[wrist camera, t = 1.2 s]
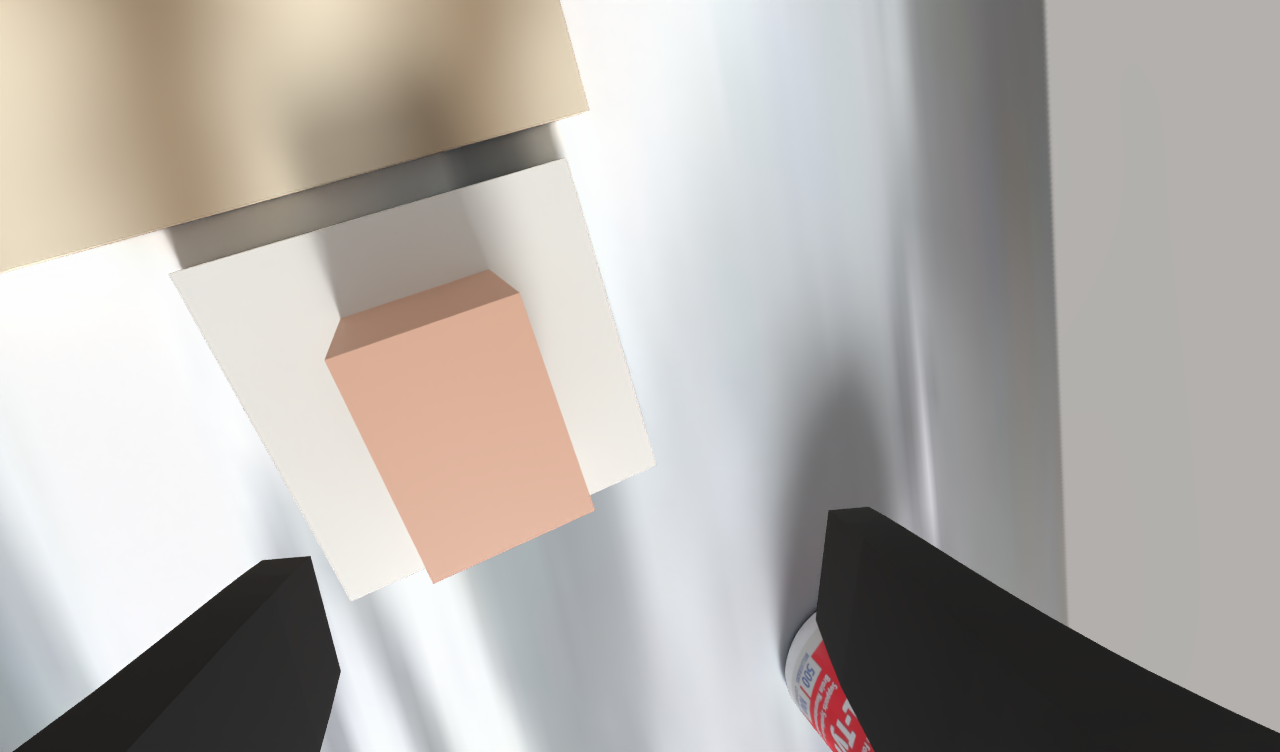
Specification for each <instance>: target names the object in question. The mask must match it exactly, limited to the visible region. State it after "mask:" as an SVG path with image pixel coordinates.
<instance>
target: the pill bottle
mask: <svg viewBox="0 0 1280 752" xmlns="http://www.w3.org/2000/svg"><path fill="white" fill-rule="evenodd" d="M785 678H786V684H787V688H788V691H789V694H790V696H791V698H792V699H793V701H794V702H795V704H796V705H797V707H798V708H799V709H800V711H801V712H802V713H803V715H804V716H805V717H806V718H807V720H808V721H809V722H810V723H811V725H812V726H813V727H814V729H815V730H816V731H817V732H818V734H819V735H820V736H821V737H822V739H823V740H824V741H825V742H826V744H827V745H828V746H829V747H830V749H831V750H832V751H833V752H874V750H873V748H872V746H871V744H870V742H869V740H868V738H867V737H866V735H865V733H864V731H863V729H862V727H861V725H860V723H859V721H858V719H857V717H856V715H855V713H854V711H853V710H852V708H851V706H850V704H849V702H848V700H847V698H846V696H845V694H844V692H843V690H842V688H841V686H840V683H839V681H838V678H837V676H836V673H835V671H834V668H833V666H832V663H831V660H830V658H829V655H828V653H827V650H826V647H825V644H824V642H823V639H822V636H821V633H820V631H819V628H818V625H817V623H816V612H815V613H814V614H813V615H812V616H811V617H810V618H809V619H808V620H807V621H806V622H805V623H804V624H803V626H802V627H801V628H800V629H799V631H798V633H797V634H796V636H795V638H794V640H793V642H792V644H791V647H790V650H789V653H788V657H787V661H786V667H785Z"/></svg>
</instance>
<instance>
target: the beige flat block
mask: <svg viewBox="0 0 1280 752" xmlns="http://www.w3.org/2000/svg"><path fill="white" fill-rule="evenodd" d="M586 111H589V107H588V103H587V99H586V96H585V92H584V88H583V85H582V81H581V77H580V74H579V70H578V66H577V63H576V59H575V55H574V52H573V48H572V44H571V40H570V37H569V33H568V29H567V26H566V22H565V18H564V15H563V11H562V7H561V4H560V0H0V274H1V273H5V272H8V271H12V270H16V269H19V268H23V267H27V266H30V265H34V264H37V263H41V262H45V261H48V260H52V259H56V258H59V257H63V256H67V255H70V254H74V253H77V252H81V251H85V250H88V249H92V248H96V247H99V246H103V245H107V244H110V243H114V242H117V241H121V240H125V239H128V238H132V237H136V236H139V235H143V234H147V233H150V232H154V231H157V230H161V229H165V228H168V227H172V226H176V225H179V224H183V223H186V222H190V221H194V220H197V219H201V218H205V217H208V216H212V215H216V214H219V213H223V212H226V211H230V210H234V209H237V208H241V207H245V206H248V205H252V204H256V203H259V202H263V201H266V200H270V199H274V198H277V197H281V196H285V195H288V194H292V193H296V192H299V191H303V190H306V189H310V188H314V187H317V186H321V185H325V184H328V183H332V182H335V181H339V180H343V179H346V178H350V177H354V176H357V175H361V174H365V173H368V172H372V171H375V170H379V169H383V168H386V167H390V166H394V165H397V164H401V163H405V162H408V161H412V160H415V159H419V158H423V157H426V156H430V155H434V154H437V153H441V152H445V151H448V150H452V149H455V148H459V147H463V146H466V145H470V144H474V143H477V142H481V141H484V140H488V139H492V138H495V137H499V136H503V135H506V134H510V133H514V132H517V131H521V130H524V129H528V128H532V127H535V126H539V125H543V124H546V123H550V122H554V121H557V120H561V119H564V118H568V117H572V116H575V115H579V114H582V113H584V112H586Z"/></svg>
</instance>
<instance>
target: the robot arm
mask: <svg viewBox="0 0 1280 752" xmlns="http://www.w3.org/2000/svg"><path fill="white" fill-rule="evenodd" d="M816 623H817V625H818V628H819V631H820V633H821V636H822V639H823V642H824V644H825V647H826V650H827V653H828V655H829V658H830V660H831V663H832V666H833V668H834V671H835V673H836V676H837V678H838V681H839V683H840V686H841V688H842V690H843V692H844V694H845V696H846V698H847V700H848V702H849V704H850V706H851V708H852V710H853V711H854V713H855V715H856V717H857V719H858V721H859V723H860V725H861V727H862V729H863V731H864V733H865V735H866V737H867V738H868V740H869V742H870V744H871V746H872V748H873V750H874V752H1280V733H1278V732H1275V731H1274V730H1271V729H1269V728H1267V727H1265V726H1263V725H1260V724H1258V723H1256V722H1254V721H1251V720H1249V719H1247V718H1245V717H1243V716H1241V715H1239V714H1236V713H1234V712H1232V711H1230V710H1228V709H1226V708H1224V707H1222V706H1220V705H1218V704H1216V703H1213V702H1211V701H1209V700H1207V699H1205V698H1203V697H1201V696H1199V695H1197V694H1195V693H1193V692H1191V691H1189V690H1187V689H1185V688H1183V687H1181V686H1179V685H1177V684H1175V683H1172V682H1171V681H1168V680H1167V679H1165V678H1162V677H1160V676H1158V675H1156V674H1154V673H1152V672H1150V671H1148V670H1146V669H1144V668H1143V667H1140V666H1139V665H1137V664H1135V663H1133V662H1131V661H1129V660H1127V659H1125V658H1123V657H1121V656H1120V655H1118V654H1116V653H1114V652H1112V651H1110V650H1108V649H1107V648H1105V647H1103V646H1101V645H1099V644H1097V643H1096V642H1094V641H1092V640H1090V639H1088V638H1087V637H1085V636H1083V635H1081V634H1080V633H1078V632H1076V631H1074V630H1072V629H1071V628H1069V627H1067V626H1065V625H1063V624H1062V623H1060V622H1058V621H1056V620H1054V619H1053V618H1051V617H1049V616H1048V615H1046V614H1044V613H1042V612H1041V611H1039V610H1037V609H1036V608H1034V607H1032V606H1030V605H1029V604H1027V603H1025V602H1024V601H1022V600H1020V599H1019V598H1017V597H1015V596H1014V595H1012V594H1010V593H1009V592H1007V591H1005V590H1004V589H1002V588H1000V587H999V586H997V585H995V584H994V583H992V582H991V581H989V580H987V579H986V578H984V577H982V576H981V575H979V574H977V573H976V572H974V571H973V570H971V569H969V568H968V567H966V566H965V565H963V564H961V563H960V562H958V561H957V560H955V559H953V558H952V557H950V556H949V555H947V554H946V553H944V552H942V551H941V550H939V549H938V548H936V547H934V546H933V545H931V544H930V543H928V542H926V541H925V540H923V539H922V538H920V537H919V536H917V535H915V534H914V533H912V532H910V531H909V530H907V529H906V528H904V527H902V526H901V525H899V524H897V523H896V522H894V521H893V520H891V519H889V518H887V517H886V516H884V515H882V514H881V513H879V512H877V511H875V510H873V509H871V508H870V507H862V508H851V509H839V510H829V512H828V520H827V529H826V537H825V545H824V553H823V562H822V570H821V578H820V586H819V595H818V603H817V611H816ZM340 672H341V670H340V666H339V663H338V659H337V655H336V651H335V647H334V644H333V640H332V636H331V632H330V628H329V625H328V621H327V617H326V613H325V610H324V606H323V602H322V598H321V594H320V591H319V587H318V583H317V579H316V575H315V572H314V568H313V564H312V560H311V556H306V557H295V558H283V559H272V560H262V561H261V562H259V563H258V564H256V565H255V566H254V567H252V568H251V569H249V570H248V571H247V572H245V573H244V574H243V575H241V576H240V577H239V578H237V579H236V580H235V581H233V582H232V583H231V584H230V585H228V586H227V587H226V588H224V589H223V590H222V591H221V592H219V593H218V594H217V595H215V596H214V597H213V598H212V599H210V600H209V601H208V602H207V603H205V604H204V605H203V606H202V607H200V608H199V609H198V610H197V611H195V612H194V613H193V614H192V615H190V616H189V617H188V618H187V619H185V620H184V621H183V622H182V623H180V624H179V625H178V626H177V627H175V628H174V629H173V630H172V631H170V632H169V633H168V634H166V635H165V636H164V637H163V638H161V639H160V640H159V641H158V642H156V643H155V644H154V645H153V646H151V647H150V648H149V649H147V650H146V651H145V652H144V653H142V654H141V655H140V656H139V657H137V658H136V659H135V660H133V661H132V662H131V663H130V664H128V665H127V666H126V667H125V668H123V669H122V670H121V671H120V672H118V673H117V674H116V675H114V676H113V677H112V678H111V679H109V680H108V681H107V682H106V683H104V684H103V685H102V686H100V687H99V688H98V689H96V690H95V691H94V692H93V693H91V694H90V695H89V696H87V697H86V698H84V699H83V700H82V701H80V702H79V703H78V704H76V705H75V706H74V707H72V708H71V709H70V710H68V711H67V712H66V713H64V714H63V715H62V716H60V717H59V718H58V719H56V720H55V721H53V722H52V723H51V724H49V725H48V726H47V727H45V728H44V729H43V730H41V731H40V732H39V733H37V734H36V735H35V736H33V737H32V738H31V739H29V740H28V741H27V742H25V743H24V744H22V745H21V746H20V747H18V748H17V749H16V750H14V751H13V752H320V750H321V746H322V742H323V739H324V735H325V731H326V728H327V724H328V720H329V717H330V713H331V709H332V705H333V701H334V697H335V693H336V688H337V684H338V680H339V676H340Z"/></svg>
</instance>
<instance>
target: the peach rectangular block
mask: <svg viewBox="0 0 1280 752" xmlns="http://www.w3.org/2000/svg"><path fill="white" fill-rule="evenodd" d="M324 361H325V363H326V365H327V367H328V369H329V371H330V373H331V375H332V377H333V379H334V381H335V383H336V385H337V387H338V389H339V391H340V393H341V395H342V397H343V400H344V402H345V404H346V406H347V408H348V410H349V412H350V414H351V416H352V418H353V420H354V422H355V424H356V426H357V428H358V430H359V432H360V434H361V436H362V439H363V441H364V443H365V445H366V447H367V449H368V451H369V453H370V455H371V457H372V459H373V461H374V463H375V465H376V467H377V469H378V471H379V473H380V475H381V477H382V480H383V482H384V484H385V486H386V488H387V490H388V492H389V494H390V496H391V498H392V500H393V502H394V504H395V506H396V508H397V510H398V512H399V514H400V516H401V519H402V521H403V523H404V525H405V527H406V529H407V531H408V533H409V535H410V537H411V539H412V541H413V543H414V545H415V547H416V549H417V551H418V553H419V555H420V557H421V560H422V562H423V564H424V566H425V568H426V570H427V572H428V574H429V576H430V578H431V580H432V582H433V584H434V583H436V582H439V581H441V580H443V579H445V578H447V577H450V576H452V575H454V574H456V573H458V572H461V571H463V570H465V569H467V568H469V567H472V566H474V565H476V564H478V563H480V562H483V561H485V560H487V559H489V558H491V557H494V556H496V555H498V554H500V553H502V552H505V551H507V550H509V549H511V548H513V547H516V546H518V545H520V544H522V543H524V542H527V541H529V540H531V539H533V538H535V537H538V536H540V535H542V534H544V533H546V532H549V531H551V530H553V529H555V528H557V527H560V526H562V525H564V524H566V523H568V522H571V521H573V520H575V519H577V518H580V517H582V516H584V515H586V514H588V513H591V512H593V511H595V509H594V506H593V503H592V500H591V497H590V494H589V491H588V488H587V485H586V483H585V480H584V477H583V474H582V471H581V468H580V465H579V462H578V459H577V457H576V454H575V451H574V448H573V445H572V442H571V439H570V436H569V433H568V431H567V428H566V425H565V422H564V419H563V416H562V413H561V410H560V407H559V405H558V402H557V399H556V396H555V393H554V390H553V387H552V384H551V381H550V379H549V376H548V373H547V370H546V367H545V364H544V361H543V358H542V355H541V353H540V350H539V347H538V344H537V341H536V338H535V335H534V332H533V329H532V326H531V324H530V321H529V318H528V315H527V312H526V309H525V306H524V303H523V300H522V298H521V295H520V292H518V291H517V290H516V289H514V288H513V287H512V286H510V285H509V284H508V283H506V282H505V281H504V280H502V279H501V278H500V277H498V276H497V275H496V274H495V273H493V272H492V271H491V270H486V271H483V272H480V273H476V274H473V275H470V276H467V277H464V278H461V279H458V280H455V281H452V282H449V283H446V284H443V285H440V286H437V287H434V288H431V289H428V290H425V291H422V292H419V293H416V294H413V295H410V296H407V297H404V298H401V299H398V300H395V301H392V302H389V303H386V304H383V305H380V306H377V307H374V308H371V309H368V310H365V311H362V312H359V313H356V314H353V315H349V316H346V317H343V318H341V319H340V321H339V324H338V326H337V329H336V331H335V334H334V337H333V339H332V342H331V344H330V347H329V349H328V352H327V355H326V357H325V360H324Z"/></svg>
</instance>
